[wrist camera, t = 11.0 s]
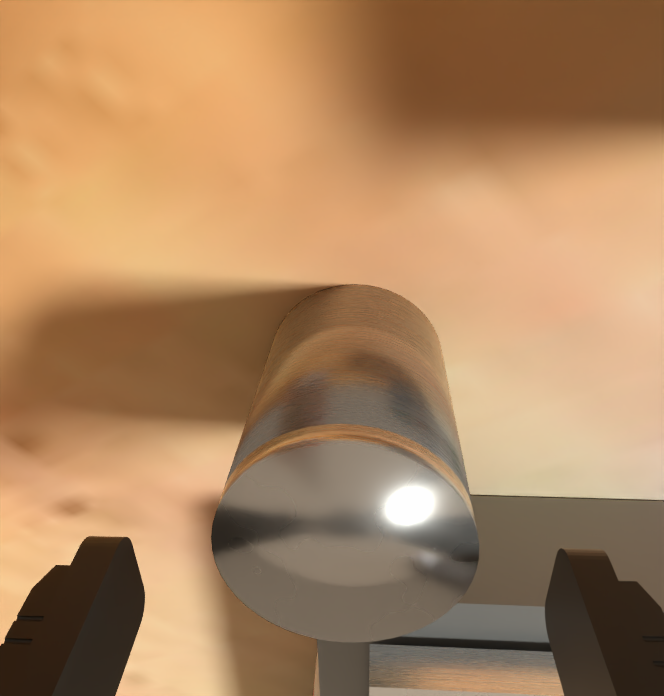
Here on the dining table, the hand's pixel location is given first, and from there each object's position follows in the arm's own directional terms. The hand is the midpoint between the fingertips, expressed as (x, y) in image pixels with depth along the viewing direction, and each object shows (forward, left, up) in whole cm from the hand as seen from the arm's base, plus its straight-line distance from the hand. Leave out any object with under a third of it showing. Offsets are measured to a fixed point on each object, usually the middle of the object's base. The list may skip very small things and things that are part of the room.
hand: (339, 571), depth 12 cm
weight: (0, 0, -7) cm, 7 cm away
